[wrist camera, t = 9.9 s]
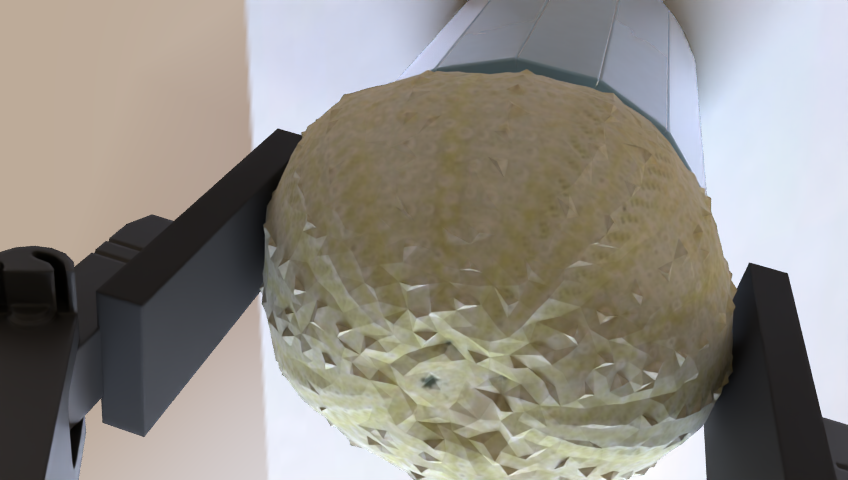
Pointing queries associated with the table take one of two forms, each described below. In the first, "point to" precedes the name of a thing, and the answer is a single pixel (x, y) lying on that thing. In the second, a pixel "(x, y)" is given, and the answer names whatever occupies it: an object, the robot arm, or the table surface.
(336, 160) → the sea urchin shell
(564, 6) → the tumbler
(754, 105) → the table surface
